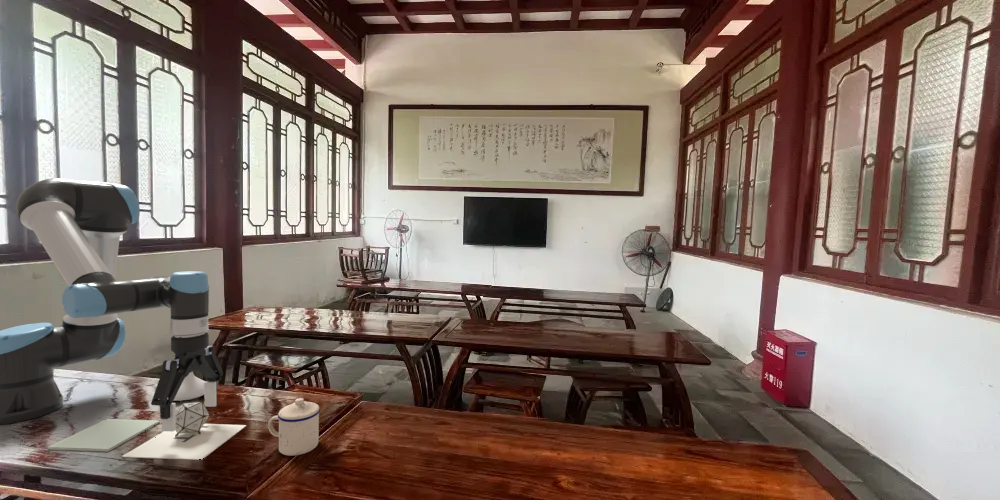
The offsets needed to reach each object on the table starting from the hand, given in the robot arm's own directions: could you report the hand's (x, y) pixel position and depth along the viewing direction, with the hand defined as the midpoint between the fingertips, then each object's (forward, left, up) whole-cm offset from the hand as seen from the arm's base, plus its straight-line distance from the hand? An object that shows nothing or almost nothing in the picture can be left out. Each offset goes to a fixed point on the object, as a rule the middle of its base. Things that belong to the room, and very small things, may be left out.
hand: (191, 417), depth 102 cm
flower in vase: (-18, +22, -5) cm, 29 cm away
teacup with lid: (+28, -4, -5) cm, 28 cm away
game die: (0, 0, -4) cm, 4 cm away
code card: (+2, -3, -4) cm, 5 cm away
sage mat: (-19, -2, -4) cm, 20 cm away
